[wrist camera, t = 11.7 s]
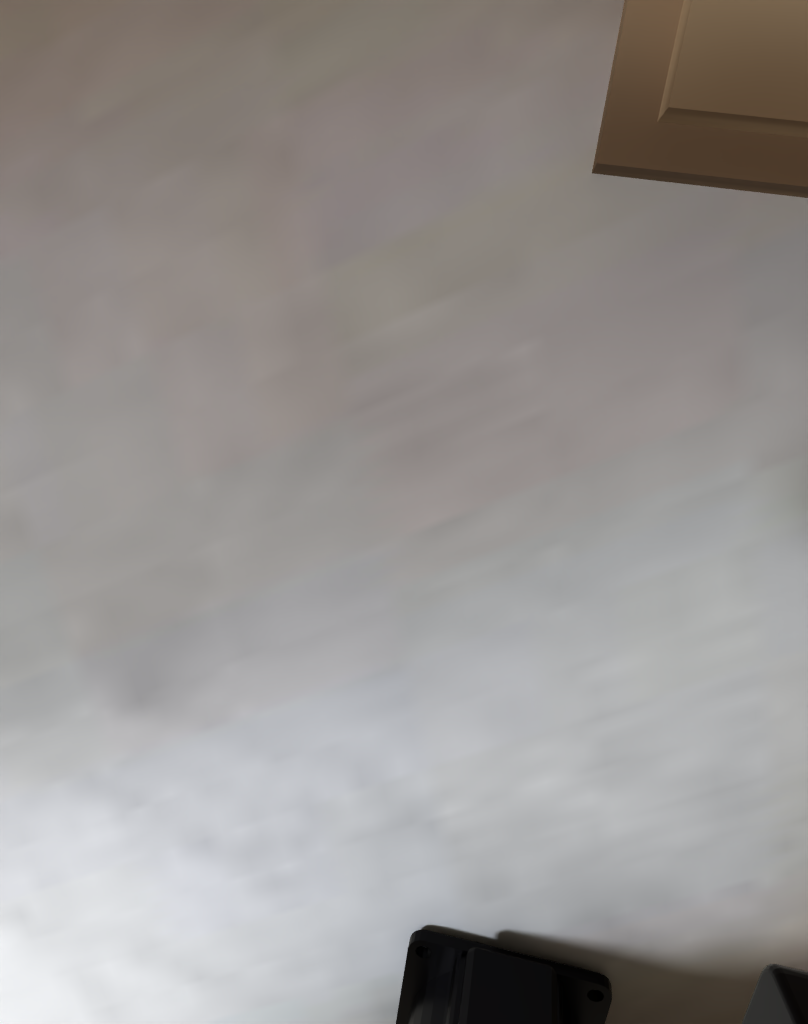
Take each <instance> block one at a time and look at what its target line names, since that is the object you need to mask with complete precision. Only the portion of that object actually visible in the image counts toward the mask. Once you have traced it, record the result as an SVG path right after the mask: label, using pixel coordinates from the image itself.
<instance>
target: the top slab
mask: <svg viewBox="0 0 808 1024" xmlns="http://www.w3.org/2000/svg"><path fill="white" fill-rule="evenodd" d="M657 122H664V123H674V124H683V125H692V126H701V127H710V128H720V129H729V130H738V131H747V132H757V133H766V134H775V135H784V136H793V137H803V138H808V0H684V1H683V6H682V10H681V15H680V20H679V24H678V29H677V33H676V38H675V43H674V47H673V52H672V56H671V61H670V66H669V70H668V75H667V79H666V84H665V89H664V93H663V98H662V103H661V107H660V112H659V116H658V121H657Z"/></svg>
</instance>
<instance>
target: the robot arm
mask: <svg viewBox="0 0 808 1024" xmlns="http://www.w3.org/2000/svg"><path fill="white" fill-rule="evenodd" d="M422 946H425V947H422ZM426 947H427V948H426ZM611 1000H612V992H611V983H610V981H609V979H608V978H607V977H605V976H604V975H602V974H600V973H597V972H593V971H589V970H585V969H581V968H577V967H573V966H569V965H565V964H561V963H557V962H553V961H549V960H545V959H541V958H537V957H532V956H528V955H524V954H520V953H516V952H512V951H508V950H504V949H500V948H496V947H492V946H488V945H484V944H480V943H476V942H472V941H468V940H464V939H460V938H456V937H452V936H448V935H444V934H440V933H436V932H432V931H428V930H418V931H415V932H414V933H413V934H412V935H411V937H410V942H409V947H408V952H407V959H406V965H405V971H404V977H403V983H402V989H401V996H400V1002H399V1008H398V1014H397V1020H396V1024H605V1021H606V1017H607V1014H608V1011H609V1007H610V1004H611ZM742 1024H808V972H807V971H802V970H798V969H794V968H790V967H786V966H782V965H777V964H770V965H768V966H766V967H765V968H764V969H763V971H762V973H761V975H760V978H759V980H758V983H757V985H756V988H755V990H754V993H753V996H752V998H751V1001H750V1003H749V1006H748V1008H747V1011H746V1014H745V1016H744V1019H743V1022H742Z"/></svg>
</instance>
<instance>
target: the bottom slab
mask: <svg viewBox="0 0 808 1024" xmlns="http://www.w3.org/2000/svg"><path fill="white" fill-rule="evenodd" d="M683 1H684V0H625V2H624V7H623V13H622V18H621V23H620V28H619V34H618V39H617V44H616V49H615V55H614V60H613V65H612V70H611V76H610V81H609V86H608V91H607V97H606V102H605V107H604V112H603V118H602V123H601V128H600V133H599V139H598V144H597V149H596V154H595V160H594V165H593V170H592V173H595V174H604V175H613V176H621V177H630V178H639V179H648V180H656V181H665V182H674V183H683V184H691V185H700V186H709V187H718V188H726V189H735V190H744V191H752V192H761V193H770V194H779V195H787V196H796V197H805V198H808V138H803V137H793V136H784V135H775V134H766V133H757V132H747V131H738V130H729V129H720V128H710V127H701V126H692V125H683V124H674V123H664V122H657V121H658V116H659V112H660V107H661V103H662V98H663V93H664V89H665V84H666V79H667V75H668V70H669V66H670V61H671V56H672V52H673V47H674V43H675V38H676V33H677V29H678V24H679V20H680V15H681V10H682V6H683Z"/></svg>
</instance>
